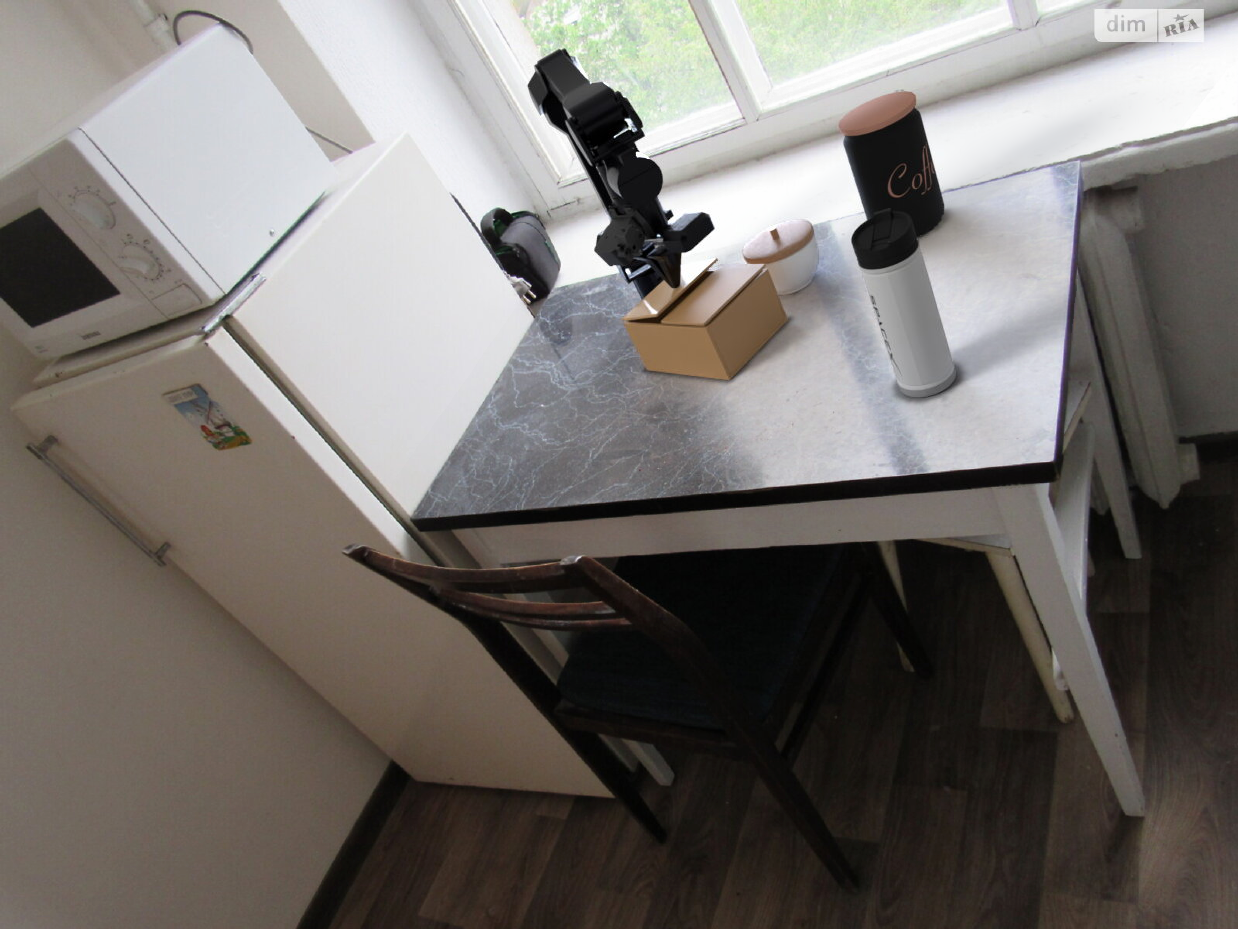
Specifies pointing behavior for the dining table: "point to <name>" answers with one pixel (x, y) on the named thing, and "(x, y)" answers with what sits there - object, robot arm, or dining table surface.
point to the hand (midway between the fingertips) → (676, 286)
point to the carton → (712, 324)
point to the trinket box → (786, 254)
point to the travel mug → (904, 303)
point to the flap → (668, 291)
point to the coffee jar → (893, 159)
